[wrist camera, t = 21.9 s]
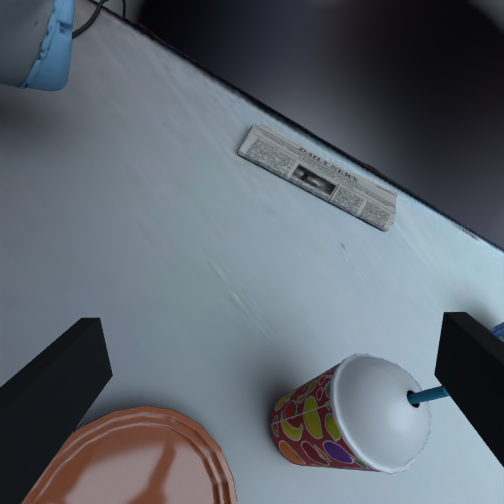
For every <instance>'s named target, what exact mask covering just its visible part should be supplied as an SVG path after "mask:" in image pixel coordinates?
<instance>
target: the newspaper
mask: <svg viewBox="0 0 504 504" xmlns="http://www.w3.org/2000/svg"><path fill="white" fill-rule="evenodd" d="M238 154H239V155H241V156H243V157H245V158H247V159H249V160H251V161H252V162H254V163H256V164H258V165H260V166H262V167H264V168H266V169H268V170H270V171H271V172H273V173H275V174H277V175H279V176H281V177H283V178H285V179H287V180H289V181H290V182H292V183H294V184H296V185H298V186H300V187H302V188H304V189H306V190H307V191H309V192H311V193H313V194H315V195H317V196H319V197H321V198H323V199H325V200H326V201H328V202H330V203H332V204H334V205H336V206H338V207H340V208H342V209H343V210H345V211H347V212H349V213H351V214H353V215H355V216H357V217H359V218H361V219H362V220H364V221H366V222H368V223H370V224H372V225H374V226H376V227H378V228H379V229H381V230H383V231H385V232H386V231H388V230H389V228H390V226H391V225H392V223H393V222H394V219H395V214H396V212H395V201H396V197H397V195H398V193H396V192H394V191H392V190H389V189H387V188H385V187H383V186H381V185H379V184H377V183H374V182H372V181H370V180H368V179H366V178H364V177H362V176H359V175H357V174H355V173H353V172H351V171H349V170H346V169H344V168H342V167H340V166H338V165H336V164H334V163H331V162H329V161H328V160H326V159H324V158H322V157H321V156H319V155H317V154H315V153H314V152H312V151H310V150H309V149H307V148H305V147H303V146H302V145H300V144H298V143H296V142H295V141H293V140H291V139H289V138H288V137H286V136H284V135H283V134H281V133H279V132H277V131H276V130H274V129H272V128H270V127H269V126H267V125H265V124H264V123H262V122H261V124H260V125H259V126H258V127H257V126H255V125H253V124H252V126H251V129H250V131H249V133H248V135H247V137H246V139H245V141H244V142H243V144H242V146H241V147H240V150H239V152H238Z"/></svg>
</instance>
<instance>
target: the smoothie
mask: <svg viewBox="0 0 504 504" xmlns="http://www.w3.org/2000/svg"><path fill="white" fill-rule="evenodd" d="M446 396H450V395H449V394H448V392H447V391H446V390H445V388H444V387H443V386H439V387H435V388H432V389H428V390H424V391H423V390H422V388H421V387H420V385H419V383H418V382H417V381H416V380H415V379H414V378H413V377H412V375H411V374H409V373H408V372H407V371H405V370H404V369H403V368H401V367H400V366H398V365H397V364H394V363H392V362H390V361H387V360H384V359H381V358H377V357H374V356H371V355H369V354H354V355H352V356H350V357H348V358H345V359H344V360H343V361H342V362H341V363H339V364H338V365H336V366H334V367H333V368H331V369H329V370H327V371H326V372H324V373H322V374H321V375H319V376H317V377H316V378H314V379H312V380H311V381H309V382H307V383H306V384H304V385H302V386H301V387H299V388H297V389H295V390H294V391H292V392H290V393H289V394H287V395H285V396H284V397H282V398H281V399H280V400H279V401H278V402H277V403H276V405H275V407H274V410H273V412H272V417H271V426H270V428H271V435H272V438H273V441H274V443H275V446H276V447H277V449H278V450H279V451H280V453H281V454H282V455H283V457H284V458H286V459H287V460H288V461H290V462H291V463H293V464H297V465H301V466H313V467H326V468H338V469H351V470H363V471H376V472H385V473H388V474H394V473H399V472H404V471H405V470H407V469H408V468H409V467H410V466H411V465H412V464H413V463H415V461H416V458H417V456H418V454H419V453H420V452H421V451H422V450H423V449H424V447H425V445H426V443H427V440H428V438H429V435H430V432H431V419H432V417H431V411H430V406H429V403H428V401H429V400H434V399H438V398H442V397H446Z"/></svg>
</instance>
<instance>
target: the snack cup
mask: <svg viewBox="0 0 504 504" xmlns="http://www.w3.org/2000/svg"><path fill="white" fill-rule="evenodd" d="M489 331H490V332H491V333H493V334H494V335H495V336H496V337H498V338H499V339H500V340H501V341H503V342H504V322H503V323H501V324H499V325H498V326H496V327H494V328H492V329H491V330H489Z"/></svg>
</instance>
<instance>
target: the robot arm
mask: <svg viewBox="0 0 504 504" xmlns="http://www.w3.org/2000/svg"><path fill="white" fill-rule="evenodd" d="M106 1H108V0H101V1H100V2H99V3H98V6H97V9H96V11H95V12H94V14H93V15H92V17H91V18H90V19H89V21H88V22H87V23H86V24H84V25H83V26H82V27H81V28H79V29H77V30H76V31H74V32H72V29H73V19H74V6H75V0H0V83H1V84H6V85H10V86H15V87H18V88H21V89H25V88H32V89H39V90H46V91H58V90H60V89H62V88H63V87H64V86H65V84H66V82H67V79H68V74H69V66H70V57H71V46H72V38H73V37H75V36H77V35H78V34H80V33H81V32H83V31H84V30H86V29H87V28H88V27H89V26H90V25H91V24H92V23H93V22H94V20H95V19H96V17H97V16H98V14H99V12H100V10H101V7H102V5H103V3H105V2H106ZM122 1H123V17H125V15H126V2H125V0H122ZM434 375H435V376H436V378H437V379H438V380H439V382H440V383H441V384H442V386H443V387H444V388H445V390H446V391H447V392H448V394H449V395H450V397H451V398H452V399H453V401H454V402H455V403H456V405H457V406H458V407H459V409H460V410H461V411H462V413H463V414H464V415H465V417H466V418H467V419H468V421H469V422H470V423H471V425H472V426H473V427H474V429H475V430H476V431H477V433H478V434H479V435H480V437H481V438H482V439H483V441H484V442H485V443H486V445H487V446H488V447H489V449H490V450H491V451H492V453H493V454H494V455H495V457H496V458H497V459H498V461H499V462H500V463H501V465H502V466H503V467H504V342H503V341H501V340H500V339H499V338H498V337H496V336H495V335H494V334H493V333H491V332H490V331H489V330H488V329H486V328H485V327H484V326H483V325H481V324H480V323H479V322H478V321H476V320H475V319H474V318H473V317H471V316H470V315H469V314H468V313H466V312H444V315H443V321H442V328H441V334H440V341H439V348H438V354H437V361H436V367H435V374H434ZM112 376H113V375H112V370H111V366H110V361H109V357H108V352H107V348H106V343H105V338H104V334H103V329H102V325H101V320H100V318H81V319H80V320H78V321H77V322H76V323H75V324H74V325H73V326H71V327H70V328H69V329H68V330H67V331H66V332H64V333H63V334H62V335H61V336H60V337H59V338H57V339H56V340H55V341H54V342H53V343H52V344H50V345H49V346H48V347H47V348H46V349H45V350H43V351H42V352H41V353H40V354H39V355H38V356H36V357H35V358H34V359H33V360H32V361H31V362H29V363H28V364H27V365H26V366H25V367H24V368H23V369H21V370H20V371H19V372H18V373H17V374H16V375H14V376H13V377H12V378H11V379H10V380H9V381H7V382H6V383H5V384H4V385H3V386H2V387H0V504H21V503H22V501H23V500H24V499H25V497H26V496H27V495H28V493H29V492H30V490H31V489H32V488H33V486H34V485H35V483H36V482H37V481H38V479H39V478H40V476H41V475H42V474H43V472H44V471H45V469H46V468H47V467H48V465H49V464H50V462H51V461H52V460H53V458H54V457H55V455H56V454H57V453H58V451H59V450H60V448H61V447H62V446H63V444H64V443H65V441H66V440H67V439H68V437H69V436H70V434H71V433H72V432H73V430H74V429H75V427H76V426H77V425H78V423H79V422H80V420H81V419H82V418H83V416H84V415H85V413H86V412H87V411H88V409H89V408H90V407H91V405H92V404H93V402H94V401H95V400H96V398H97V397H98V395H99V394H100V393H101V391H102V390H103V388H104V387H105V386H106V384H107V383H108V381H109V380H110V379H111V377H112Z"/></svg>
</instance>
